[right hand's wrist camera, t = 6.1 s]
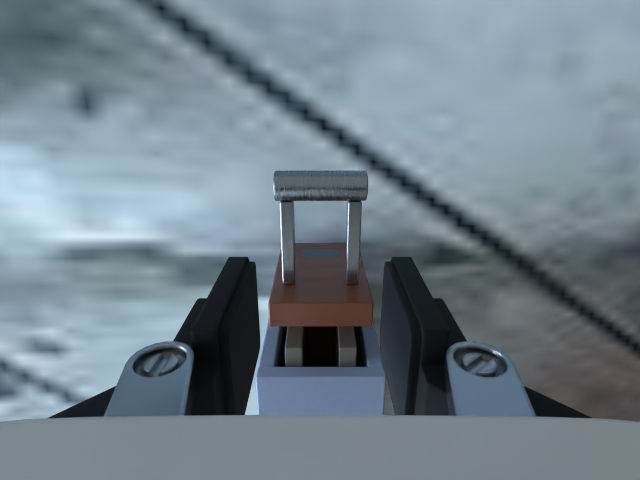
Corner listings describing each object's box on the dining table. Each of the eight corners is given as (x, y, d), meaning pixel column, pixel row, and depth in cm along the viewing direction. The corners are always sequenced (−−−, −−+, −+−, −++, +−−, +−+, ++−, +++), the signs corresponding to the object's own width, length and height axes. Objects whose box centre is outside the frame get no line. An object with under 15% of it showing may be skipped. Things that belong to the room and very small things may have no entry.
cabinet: (275, 284, 26) (255, 376, 18) (364, 284, 26) (386, 376, 18) (283, 474, 32) (271, 611, 24) (356, 474, 32) (370, 611, 24)
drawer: (279, 152, 23) (261, 181, 16) (361, 152, 23) (379, 181, 16) (289, 442, 30) (280, 546, 23) (351, 442, 30) (360, 546, 23)
